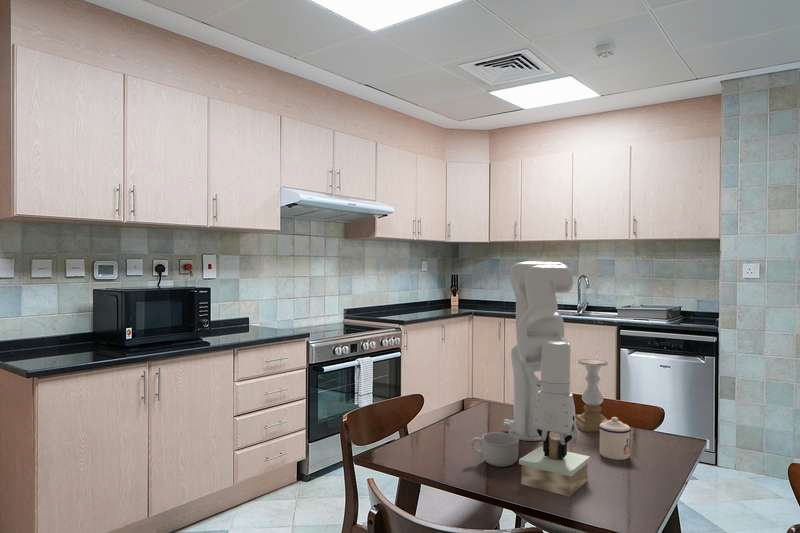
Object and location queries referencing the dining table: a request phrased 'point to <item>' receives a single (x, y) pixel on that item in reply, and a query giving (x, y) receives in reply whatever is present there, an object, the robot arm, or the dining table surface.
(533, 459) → the lid
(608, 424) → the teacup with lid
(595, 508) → the dining table surface
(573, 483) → the box
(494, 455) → the teacup
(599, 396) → the candle holder
